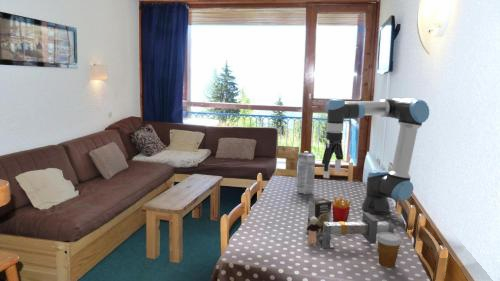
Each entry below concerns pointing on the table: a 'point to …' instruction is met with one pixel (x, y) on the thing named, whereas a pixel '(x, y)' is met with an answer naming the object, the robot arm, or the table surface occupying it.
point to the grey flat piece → (370, 228)
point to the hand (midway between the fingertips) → (331, 175)
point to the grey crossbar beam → (350, 230)
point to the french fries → (340, 210)
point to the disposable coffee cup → (388, 248)
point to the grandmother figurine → (312, 231)
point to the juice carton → (305, 172)
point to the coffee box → (319, 212)
